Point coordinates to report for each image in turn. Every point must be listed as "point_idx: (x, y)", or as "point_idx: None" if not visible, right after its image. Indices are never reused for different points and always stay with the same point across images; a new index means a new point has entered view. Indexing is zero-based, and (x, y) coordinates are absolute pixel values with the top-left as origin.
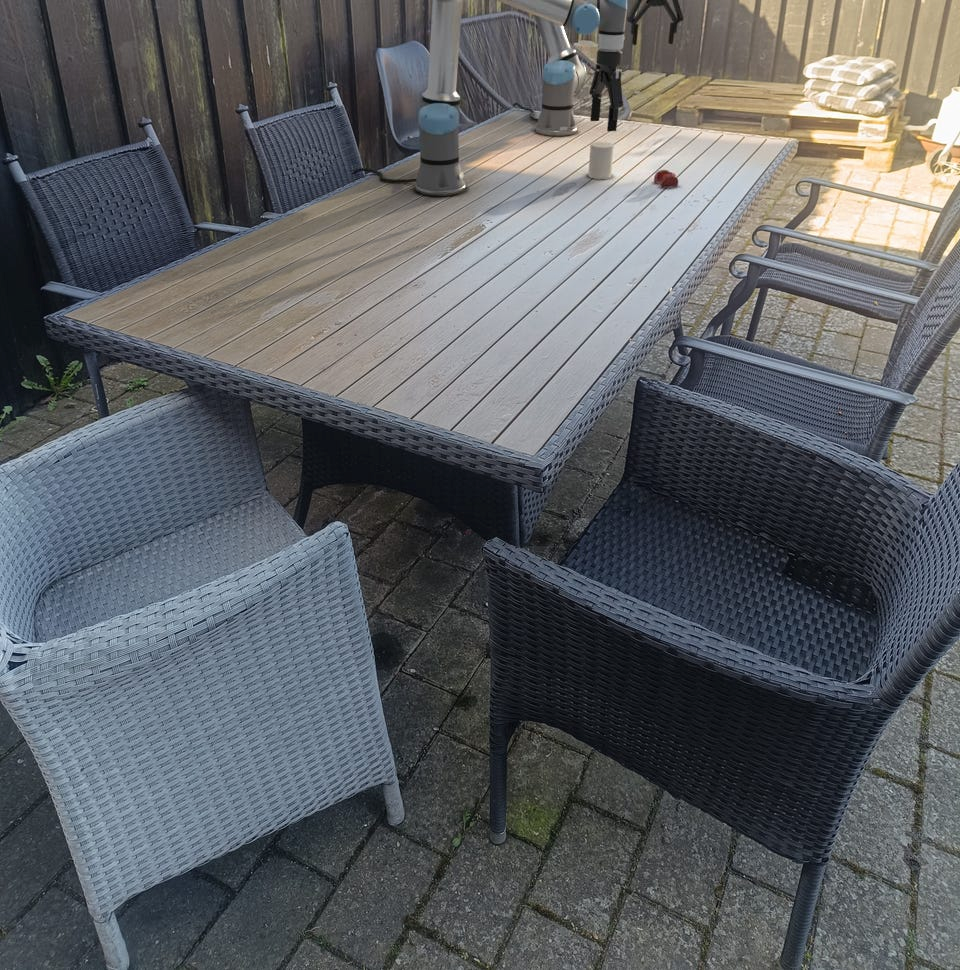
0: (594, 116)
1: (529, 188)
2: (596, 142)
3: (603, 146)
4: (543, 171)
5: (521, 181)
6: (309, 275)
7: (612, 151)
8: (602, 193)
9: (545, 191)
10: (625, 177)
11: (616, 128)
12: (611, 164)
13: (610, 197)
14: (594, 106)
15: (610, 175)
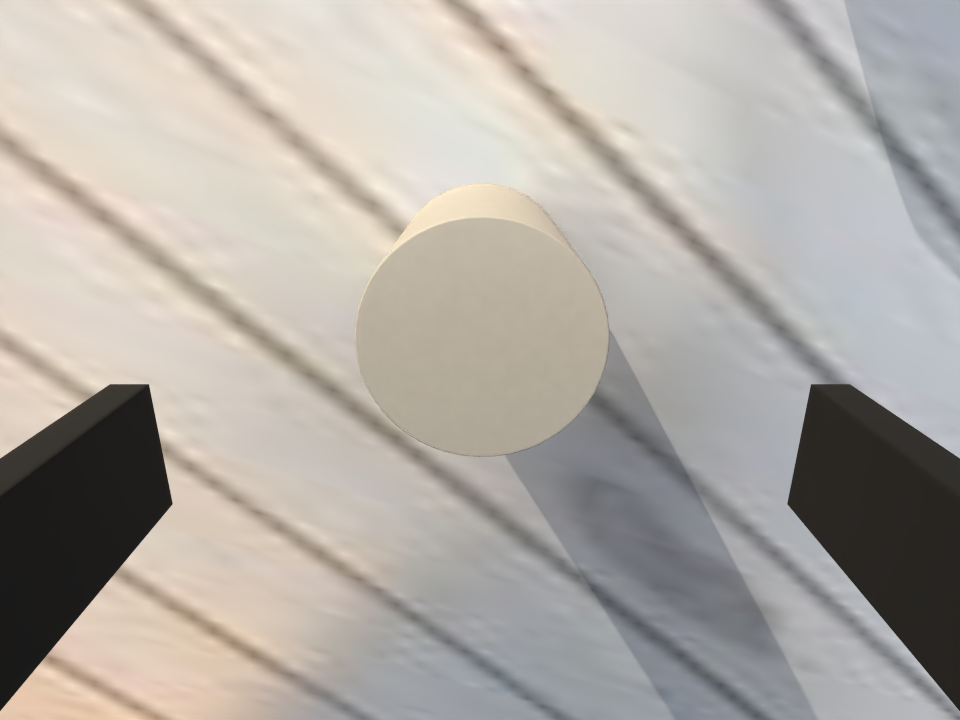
0: (128, 501)
1: (591, 710)
2: (383, 370)
3: (563, 363)
4: (287, 563)
5: (457, 710)
6: None
7: (568, 244)
8: None
9: (672, 661)
10: (573, 81)
11: (871, 399)
12: (549, 220)
13: (950, 386)
14: (20, 638)
15: (542, 209)
